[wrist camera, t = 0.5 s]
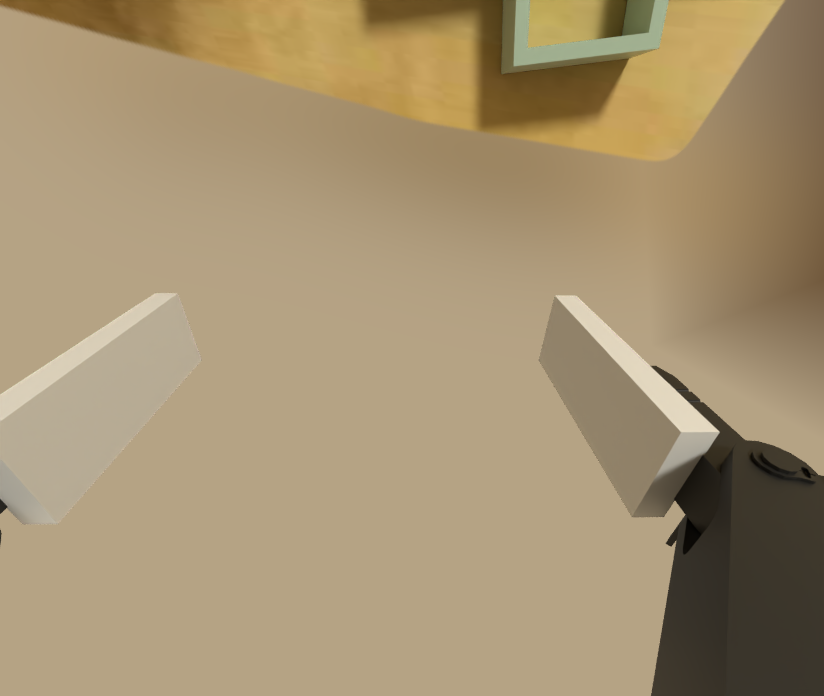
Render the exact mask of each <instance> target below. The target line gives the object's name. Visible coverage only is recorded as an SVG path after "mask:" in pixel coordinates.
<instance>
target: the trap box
mask: <svg viewBox="0 0 824 696" xmlns="http://www.w3.org/2000/svg"><path fill="white" fill-rule="evenodd" d="M668 1H669V0H627V6H626V13H625V19H624V25H623V32H622V36H618V37H611V38H603V39H595V40H587V41H579V42H571V43H563V44H555V45H547V46H539V47H531V48H528V29H529V11H530V0H503V19H502V61H501V74H507V73H515V72H523V71H531V70H539V69H547V68H555V67H563V66H571V65H579V64H587V63H595V62H603V61H611V60H620V59H628V58H632V57H635V56H638V55H641V54H644V53H647V52H650V51H652V50H655V49H658V48H659V46H660V41H661V36H662V31H663V26H664V21H665V16H666V11H667V6H668Z"/></svg>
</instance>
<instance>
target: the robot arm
mask: <svg viewBox="0 0 824 696" xmlns="http://www.w3.org/2000/svg"><path fill="white" fill-rule="evenodd" d="M201 360H202V359H201V356H200V353H199V351H198V348H197V345H196V342H195V340H194V337H193V334H192V331H191V328H190V326H189V323H188V320H187V317H186V314H185V312H184V309H183V306H182V303H181V300H180V298H179V295H178V293H155V294H153V295H152V296H150V297H149V298H147V299H146V300H144V301H142V302H141V303H140V304H138V305H136V306H135V307H133V308H132V309H130V310H129V311H127V312H126V313H124V314H123V315H121V316H120V317H118V318H117V319H115V320H114V321H112V322H110V323H109V324H107V325H106V326H104V327H103V328H101V329H100V330H98V331H97V332H95V333H94V334H92V335H91V336H89V337H87V338H86V339H84V340H83V341H82V342H80V343H78V344H77V345H75V346H74V347H72V348H71V349H69V350H68V351H66V352H65V353H63V354H61V355H60V356H58V357H57V358H56V359H54V360H52V361H51V362H49V363H48V364H46V365H45V366H43V367H42V368H40V369H39V370H37V371H36V372H34V373H32V374H31V375H29V376H28V377H26V378H25V379H23V380H22V381H20V382H19V383H17V384H16V385H14V386H13V387H11V388H10V389H8V390H6V391H5V392H3V393H2V394H0V514H1V513H2V512H3V511H4V510H5V509H6V508H8V509H9V511H11V513H12V514H13V515H14V516H15V517H16V518H17V519H18V520H19V521H20V522H21V523H22V524H58V523H59V522H60V521H61V520H62V519H63V518H64V516H65V515H66V514H67V513H68V512H69V511H70V510H71V508H72V507H73V506H74V505H75V504H76V503H77V502H78V500H79V499H80V498H81V497H82V496H83V495H84V494H85V493H86V491H87V490H88V489H89V488H90V487H91V486H92V485H93V483H94V482H95V481H96V480H97V479H98V478H99V477H100V475H101V474H102V473H103V472H104V471H105V469H107V467H108V466H109V465H110V464H111V463H112V462H113V461H114V459H115V458H116V457H117V456H118V455H119V454H120V453H121V451H122V450H123V449H124V448H125V447H126V446H127V445H128V443H129V442H130V441H131V440H132V439H133V438H134V437H135V436H136V434H137V433H138V432H139V431H140V430H141V429H142V428H143V426H144V425H145V424H146V423H147V422H148V421H149V419H150V418H151V417H152V416H153V415H154V413H156V412H157V410H158V409H159V408H160V407H161V406H162V405H163V404H164V403H165V401H166V400H167V399H168V398H169V397H170V396H171V395H172V393H173V392H174V391H175V390H176V389H177V388H178V387H179V385H180V384H181V383H182V382H183V381H184V380H185V379H186V377H187V376H188V375H189V374H190V373H191V372H192V371H193V370H194V368H195V367H196V366H197V365H198V364H199V363H200V362H201ZM539 361H540V363H541V365H542V366H543V368H544V370H545V372H546V373H547V375H548V377H549V378H550V380H551V382H552V383H553V385H554V387H555V388H556V390H557V392H558V393H559V395H560V397H561V399H562V400H563V402H564V404H565V405H566V407H567V409H568V410H569V412H570V414H571V415H572V417H573V419H574V420H575V422H576V424H577V426H578V427H579V429H580V431H581V432H582V434H583V436H584V437H585V439H586V441H587V442H588V444H589V446H590V447H591V449H592V451H593V453H594V454H595V456H596V458H597V459H598V461H599V463H600V464H601V466H602V468H603V469H604V471H605V473H606V474H607V476H608V478H609V479H610V481H611V483H612V484H613V486H614V488H615V489H616V491H617V493H618V495H619V496H620V498H621V500H622V501H623V503H624V505H625V506H626V508H627V510H628V511H629V513H630V515H631V516H632V517H664V516H665V514H666V513H667V511H668V510H669V508H670V507H671V505H672V504H673V502H674V501H676V502H677V504H678V505H679V506H680V508H681V509H682V510H683V512H684V513H685V514H686V515H685V516H684V518H683V519H682V521H681V522H680V523H679V525H678V526H677V527H676V529H675V530H674V532H673V533H672V534H671V536H670V537H669V539H668V541H667V542H666V544H668V545H669V546H672V545H673V543H674V542H675V541H676V540H677V541H676V547H675V554H674V560H673V566H672V572H671V578H670V584H669V590H668V596H667V603H666V608H665V615H664V620H663V627H662V633H661V639H660V645H659V651H658V657H657V663H656V670H655V676H654V682H653V688H652V693H651V696H824V476H820V475H818V474H817V473H816V472H815V471H814V470H813V469H812V468H811V467H810V466H808V465H807V464H806V463H805V462H803V461H802V460H800V459H799V458H797V457H796V456H794V455H792V454H791V453H789V452H786V451H784V450H782V449H780V448H778V447H775V446H773V445H769V444H766V443H762V442H759V441H747V440H744V439H743V438H742V437H741V436H740V435H739V434H738V433H737V432H736V431H734V430H733V429H732V428H731V427H730V426H729V425H728V424H727V423H725V422H724V421H723V420H722V419H721V418H720V417H719V416H718V415H717V414H716V413H714V412H713V411H712V410H711V409H710V408H709V407H707V405H706V404H704V403H703V402H700V399H699V398H698V397H697V396H696V395H694V394H693V393H692V392H689V391H688V388H687V387H686V386H684V385H683V384H682V383H681V382H680V381H679V380H678V379H677V378H675V377H674V376H673V375H671V374H669V373H667V372H665V371H664V370H662V369H660V368H659V367H657V366H650V365H649V364H648V363H646V362H645V361H644V360H643V359H642V358H641V357H640V356H639V355H638V354H637V353H636V352H635V351H634V350H633V349H632V348H631V347H630V346H629V345H628V344H626V343H625V342H624V341H623V340H622V339H621V338H620V337H619V336H618V335H617V334H616V333H615V332H614V331H613V330H612V329H611V328H610V327H609V326H607V325H606V324H605V323H604V322H603V321H602V320H601V319H600V318H599V317H598V316H597V315H596V314H595V313H594V312H593V311H592V310H591V309H589V307H587V306H586V305H585V304H584V303H583V302H582V301H581V300H580V299H579V298H578V297H577V296H555V297H554V301H553V305H552V309H551V313H550V317H549V321H548V325H547V329H546V333H545V337H544V341H543V345H542V349H541V353H540V357H539ZM0 543H1V530H0Z"/></svg>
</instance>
